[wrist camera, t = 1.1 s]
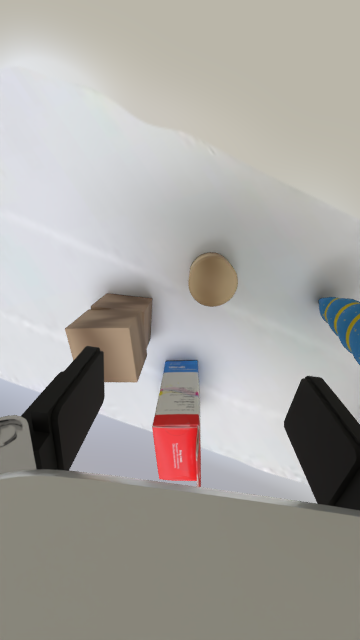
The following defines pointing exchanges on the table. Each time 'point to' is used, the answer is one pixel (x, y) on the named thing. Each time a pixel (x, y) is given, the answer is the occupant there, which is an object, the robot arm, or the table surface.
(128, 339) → the top block
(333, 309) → the ornament
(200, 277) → the beige knob
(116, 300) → the bottom block
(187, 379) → the ink box
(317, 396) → the robot arm
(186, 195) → the table surface
